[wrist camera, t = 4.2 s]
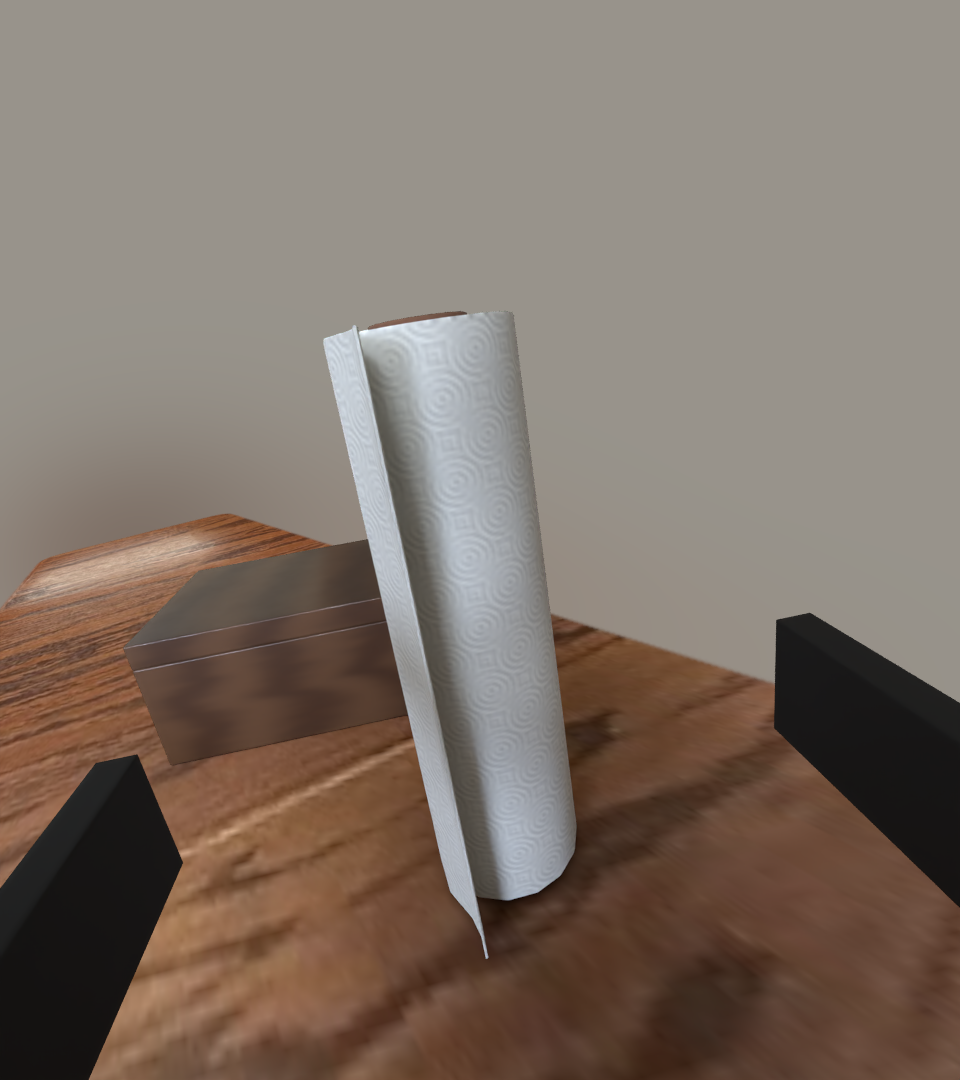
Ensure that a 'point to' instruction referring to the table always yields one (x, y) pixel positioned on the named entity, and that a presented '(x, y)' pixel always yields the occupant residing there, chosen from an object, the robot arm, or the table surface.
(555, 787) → the paper towel roll
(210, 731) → the drawer box
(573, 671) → the table surface
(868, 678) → the robot arm
